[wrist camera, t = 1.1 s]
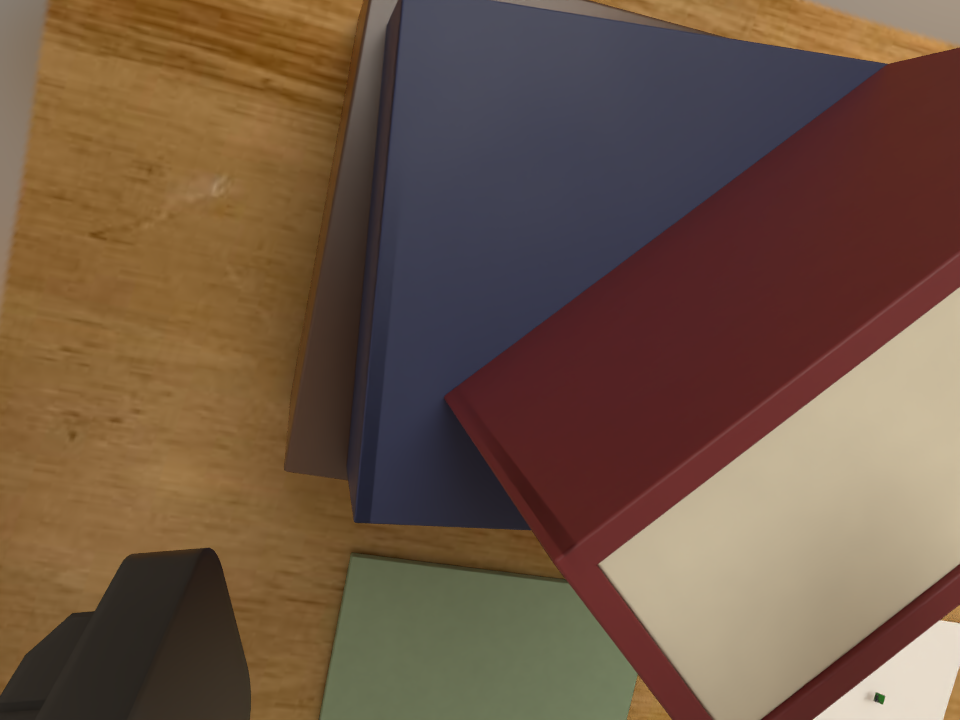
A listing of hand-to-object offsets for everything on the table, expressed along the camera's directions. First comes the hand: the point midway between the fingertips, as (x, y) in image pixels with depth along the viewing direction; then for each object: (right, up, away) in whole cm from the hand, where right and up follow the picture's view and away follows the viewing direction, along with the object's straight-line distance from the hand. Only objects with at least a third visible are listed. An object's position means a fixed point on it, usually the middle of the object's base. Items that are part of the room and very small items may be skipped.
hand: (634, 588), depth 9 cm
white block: (+15, -12, +30) cm, 35 cm away
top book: (+4, +4, +11) cm, 12 cm away
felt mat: (-2, -12, +26) cm, 29 cm away
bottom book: (+3, +4, +15) cm, 16 cm away
